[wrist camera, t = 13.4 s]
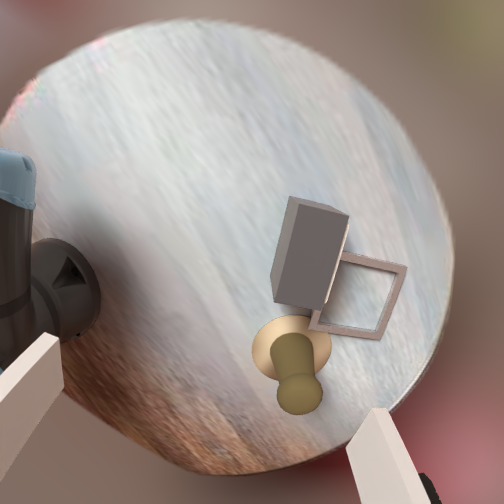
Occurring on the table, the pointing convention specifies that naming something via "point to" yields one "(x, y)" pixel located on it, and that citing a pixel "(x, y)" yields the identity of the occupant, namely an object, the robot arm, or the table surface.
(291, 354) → the pepper shaker
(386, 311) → the taupe square frame
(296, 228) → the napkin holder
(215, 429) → the table surface
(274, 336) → the tan round coaster
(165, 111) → the table surface
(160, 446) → the table surface
